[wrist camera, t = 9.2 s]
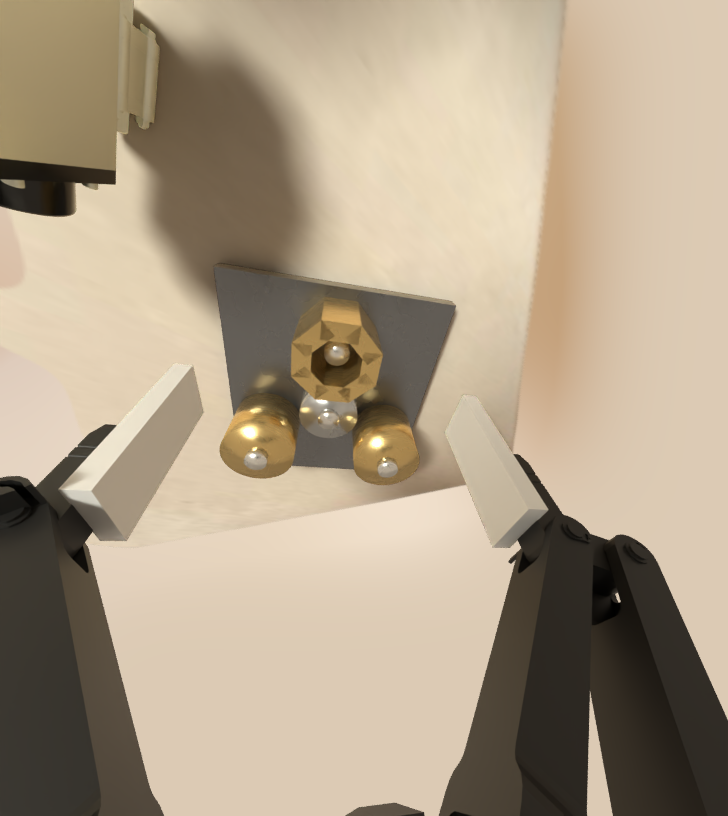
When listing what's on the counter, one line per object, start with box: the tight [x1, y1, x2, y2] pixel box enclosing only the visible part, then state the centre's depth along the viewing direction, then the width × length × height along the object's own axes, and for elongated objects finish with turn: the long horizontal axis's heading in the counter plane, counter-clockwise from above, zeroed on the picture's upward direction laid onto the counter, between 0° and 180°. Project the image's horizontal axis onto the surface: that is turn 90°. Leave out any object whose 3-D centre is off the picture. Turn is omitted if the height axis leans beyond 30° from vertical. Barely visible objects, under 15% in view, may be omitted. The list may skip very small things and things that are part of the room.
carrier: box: [213, 263, 456, 485], centre depth 25 cm, size 20×18×7 cm
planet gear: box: [291, 297, 383, 403], centre depth 21 cm, size 6×6×5 cm
